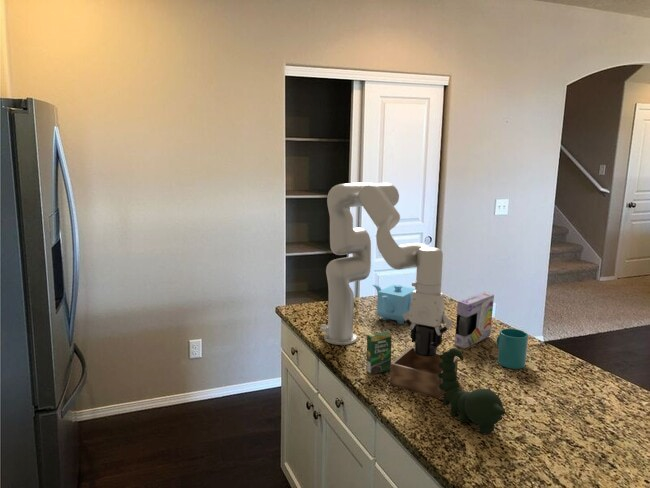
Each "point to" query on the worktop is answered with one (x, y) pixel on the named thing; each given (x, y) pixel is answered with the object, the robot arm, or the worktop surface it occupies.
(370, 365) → the coffee box
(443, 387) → the toy figurine
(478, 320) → the cake pan box
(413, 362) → the walnut crate
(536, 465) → the worktop surface
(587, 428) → the worktop surface
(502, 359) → the cup
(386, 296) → the teakettle
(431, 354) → the supplement bottle
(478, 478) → the worktop surface
